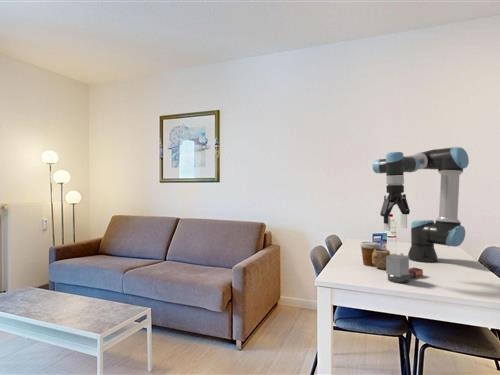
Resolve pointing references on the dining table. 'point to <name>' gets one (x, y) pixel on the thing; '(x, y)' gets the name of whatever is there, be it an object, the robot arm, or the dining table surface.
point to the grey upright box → (397, 265)
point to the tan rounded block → (380, 257)
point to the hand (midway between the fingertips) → (395, 229)
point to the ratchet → (405, 279)
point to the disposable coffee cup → (368, 252)
